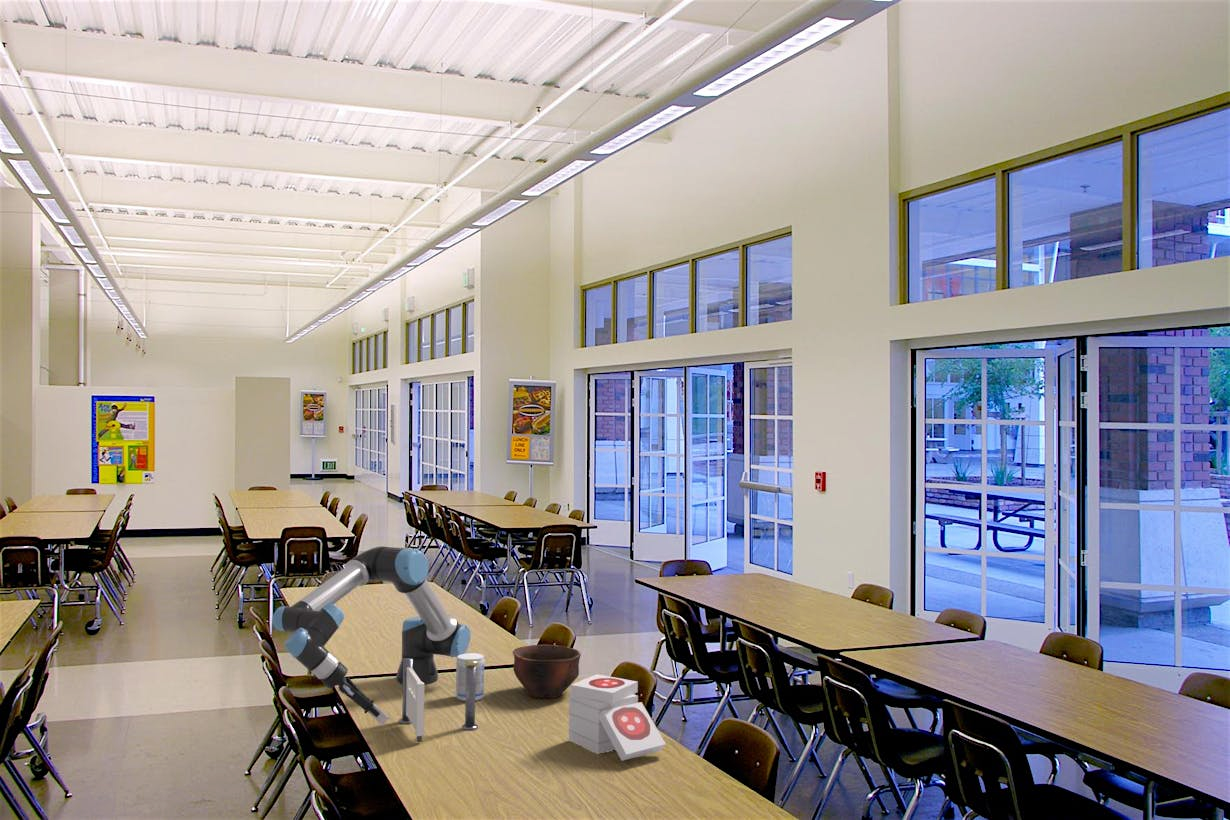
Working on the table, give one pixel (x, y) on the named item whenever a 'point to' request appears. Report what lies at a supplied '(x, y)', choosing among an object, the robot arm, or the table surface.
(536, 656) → the bowl
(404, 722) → the hinge post
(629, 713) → the pizza boxes
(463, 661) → the supplement tub
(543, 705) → the table surface
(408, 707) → the gate
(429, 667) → the robot arm
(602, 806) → the table surface
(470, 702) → the latch post
